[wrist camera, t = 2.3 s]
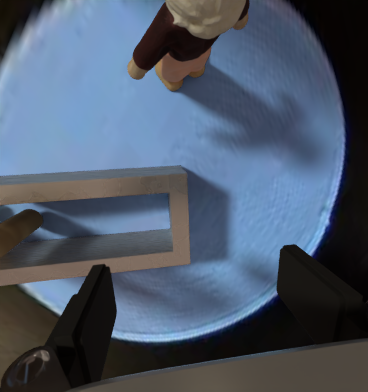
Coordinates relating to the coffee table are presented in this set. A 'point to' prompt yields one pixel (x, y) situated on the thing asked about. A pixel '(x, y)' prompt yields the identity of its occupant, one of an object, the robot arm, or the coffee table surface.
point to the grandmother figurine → (185, 38)
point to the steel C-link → (99, 244)
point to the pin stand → (18, 229)
